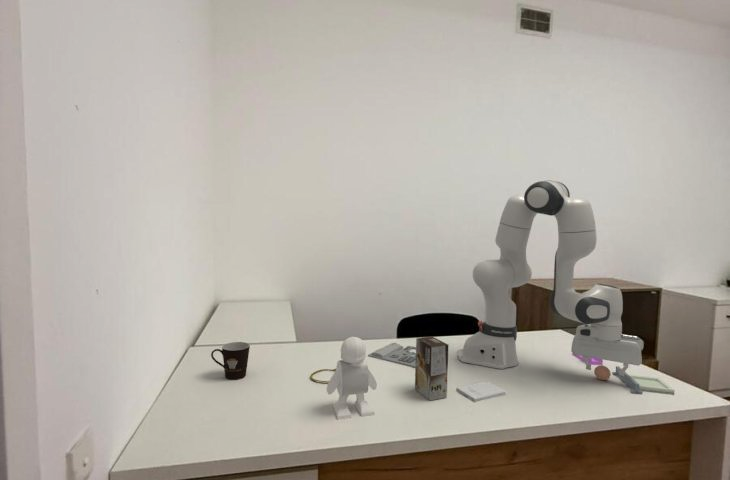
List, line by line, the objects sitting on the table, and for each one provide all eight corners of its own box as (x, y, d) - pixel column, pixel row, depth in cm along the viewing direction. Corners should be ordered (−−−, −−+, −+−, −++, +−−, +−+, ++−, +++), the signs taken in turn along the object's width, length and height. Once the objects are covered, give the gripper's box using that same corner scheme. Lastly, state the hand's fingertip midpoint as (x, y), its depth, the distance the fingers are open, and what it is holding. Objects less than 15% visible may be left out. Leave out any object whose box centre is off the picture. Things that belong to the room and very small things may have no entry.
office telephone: (367, 351, 147) (391, 339, 164) (367, 358, 148) (391, 345, 164) (423, 364, 135) (443, 349, 152) (422, 371, 135) (443, 355, 152)
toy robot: (330, 420, 99) (332, 344, 98) (323, 404, 107) (325, 334, 107) (381, 413, 103) (383, 340, 102) (370, 399, 112) (372, 331, 111)
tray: (638, 390, 123) (638, 386, 123) (625, 378, 133) (625, 374, 133) (674, 394, 121) (674, 390, 121) (658, 382, 130) (658, 378, 130)
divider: (631, 392, 121) (632, 383, 121) (612, 374, 136) (612, 365, 136) (642, 394, 120) (642, 384, 120) (621, 375, 136) (622, 366, 136)
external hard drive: (505, 396, 117) (474, 403, 112) (485, 385, 125) (455, 392, 119) (505, 391, 117) (474, 398, 112) (486, 380, 124) (456, 387, 119)
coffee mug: (254, 374, 127) (255, 344, 127) (236, 383, 119) (236, 352, 119) (228, 367, 132) (228, 339, 132) (208, 376, 124) (209, 346, 124)
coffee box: (447, 397, 114) (450, 344, 113) (429, 401, 111) (431, 346, 111) (430, 385, 122) (432, 336, 122) (413, 388, 120) (415, 337, 119)
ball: (596, 381, 129) (597, 367, 129) (591, 376, 134) (592, 362, 134) (612, 383, 128) (613, 369, 128) (607, 377, 133) (608, 364, 133)
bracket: (602, 365, 145) (603, 347, 145) (587, 364, 145) (588, 346, 145) (583, 353, 158) (584, 337, 158) (569, 353, 158) (570, 336, 158)
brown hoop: (361, 381, 125) (361, 375, 125) (313, 387, 119) (314, 381, 119) (350, 368, 136) (350, 362, 136) (306, 372, 131) (306, 366, 131)
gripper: (643, 335, 126) (641, 376, 127) (573, 325, 138) (571, 363, 138) (644, 339, 121) (642, 382, 121) (571, 329, 132) (570, 368, 133)
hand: (604, 372), depth 130 cm, fingers open, 8 cm apart
